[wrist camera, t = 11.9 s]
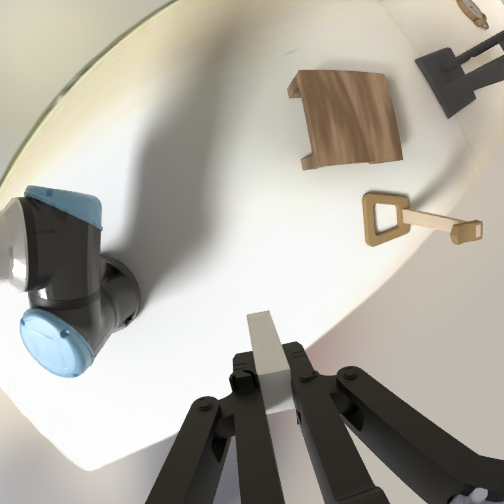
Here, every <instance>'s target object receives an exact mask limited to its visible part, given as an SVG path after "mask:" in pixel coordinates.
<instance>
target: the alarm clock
mask: <svg viewBox="0 0 504 504" xmlns="http://www.w3.org/2000/svg"><path fill="white" fill-rule="evenodd" d="M457 3H458V5H459V7H460V8H461V10H462V11H463V12H464V13H465V14H466V15H467V16H468V17H469V18H470V19H471V20H473V21H475V22H474V23H475V24H476V25H477V26H481V27H483V28H485V29H488V28H489V26H488V24H487V22H486V20H487V18H486V16H485V15H484V14H483V13H482V12H481V11H480V9H479V8H478V7H477V6H476V5H475V3H473V2H472V1H471V0H457ZM484 24H486V26H487V28H486V27H485V26H483V25H484Z"/></svg>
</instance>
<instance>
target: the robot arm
mask: <svg viewBox="0 0 504 504" xmlns="http://www.w3.org/2000/svg"><path fill="white" fill-rule="evenodd" d="M24 196H25V197H18V198H12V199H11V200H10V202H9V203H8V204H7V205H6V207H5V208H4V209H3V210H2V211H0V284H4V283H8V284H10V285H11V286H13V287H14V288H15V289H16V290H18V291H19V292H27V291H28V297H29V304H30V309H28V310H27V311H25V312H24V314H23V317H22V319H21V320H20V334H21V338H22V340H23V343H24V345H25V347H26V348H27V350H28V351H29V353H30V354H31V355H32V357H33V358H34V359H35V360H36V361H37V362H38V363H39V364H40V365H41V366H42V367H44V368H45V369H46V370H48V371H50V372H51V373H53V374H55V375H58V376H61V377H65V378H74V377H78V376H79V375H81V374H82V373H84V372H85V370H86V369H87V368H88V367H89V366H91V365H92V363H93V361H94V358H95V357H96V356H97V354H98V353H99V351H100V350H101V348H102V347H103V346H104V344H105V343H106V341H107V340H108V338H109V337H110V336H111V334H112V333H115V332H117V331H119V330H122V329H124V328H125V327H127V326H128V325H129V324H130V323H131V322H132V321H133V319H134V318H135V316H136V315H137V313H138V310H139V307H140V291H139V287H138V284H137V282H136V280H135V278H134V276H133V275H132V273H131V272H130V271H129V270H128V269H127V268H126V267H125V266H124V265H123V264H122V263H120V262H119V261H117V260H115V259H112V258H109V257H103V256H100V244H101V231H102V230H103V227H102V226H101V217H102V206H101V203H100V201H99V199H98V198H97V197H95V196H93V195H88V194H83V193H78V192H72V191H66V190H59V189H52V188H45V187H39V186H31V185H29V186H27V188H26V191H25V192H24ZM247 320H248V326H249V332H250V338H251V343H252V349H253V351H250V352H244V353H238V354H236V355H235V356H234V358H233V373H232V374H231V375H230V377H229V381H230V384H231V388H232V391H233V392H232V393H231V394H230V395H228V396H227V397H225V398H223V399H220V400H217V399H216V398H214V397H210V396H206V397H201V398H198V399H197V400H195V401H194V402H193V404H192V405H191V407H190V410H189V412H188V414H187V416H186V418H185V420H184V422H183V425H182V427H181V429H180V431H179V433H178V435H177V437H176V440H175V442H174V444H173V446H172V448H171V450H170V452H169V455H168V456H167V458H166V461H165V463H164V465H163V467H162V469H161V471H160V473H159V476H158V478H157V479H156V482H155V484H154V486H153V488H152V490H151V492H150V494H149V496H148V498H147V501H146V502H145V504H213V500H214V497H215V494H216V490H217V487H218V484H219V480H220V477H221V473H222V470H223V466H224V463H225V459H226V455H227V452H228V449H229V445H230V442H231V437H232V436H236V448H237V462H238V474H239V486H240V496H241V504H285V501H284V496H283V491H282V487H281V482H280V477H279V473H278V468H277V463H276V459H275V454H274V449H273V444H272V439H271V435H270V430H269V425H268V420H267V415H266V414H270V413H275V412H280V411H284V410H289V409H294V408H296V414H297V424H299V425H300V427H301V431H302V434H303V437H304V440H305V443H306V446H307V450H308V453H309V456H310V459H311V462H312V465H313V468H314V471H315V474H316V477H317V481H318V484H319V487H320V490H321V493H322V496H323V499H324V502H325V504H390V503H389V501H388V499H387V497H386V495H385V493H384V491H383V490H382V489H381V488H380V487H377V486H375V485H374V483H373V481H372V479H371V477H370V475H369V473H368V471H367V469H366V467H365V465H364V463H363V461H362V459H361V457H360V455H359V453H358V451H357V449H356V447H355V445H354V443H353V440H352V438H351V436H350V434H349V432H348V430H347V428H346V426H345V424H346V425H347V426H348V427H349V428H350V429H351V430H352V432H353V433H354V434H355V435H356V436H357V437H358V438H359V439H360V440H361V441H362V442H363V443H364V444H365V445H366V446H367V447H368V448H369V449H370V450H371V451H372V452H373V453H374V454H375V455H376V456H377V457H378V458H379V459H380V460H381V461H382V462H383V463H385V465H386V466H387V467H388V468H390V469H391V470H392V471H393V472H394V473H395V474H396V475H397V476H398V477H399V478H400V479H401V480H402V481H403V482H404V483H405V484H406V485H407V486H409V487H410V488H411V489H412V490H413V491H414V492H415V493H416V494H418V496H420V497H421V498H422V499H423V500H424V501H425V502H427V503H428V504H504V460H500V459H494V458H490V457H485V456H481V455H478V454H477V453H475V452H474V451H472V450H471V449H469V448H468V447H467V446H465V445H464V444H462V443H461V442H459V441H458V440H457V439H455V438H454V437H452V436H451V435H450V434H448V433H447V432H445V431H444V430H443V429H441V428H440V427H438V426H437V425H436V424H434V423H433V422H432V421H430V420H429V419H427V418H426V417H424V416H423V415H422V414H421V413H419V412H418V411H416V410H415V409H414V408H412V407H411V406H409V405H408V404H407V403H406V402H404V401H403V400H402V399H400V398H399V397H397V396H396V395H395V394H394V393H392V392H391V391H389V390H388V389H387V388H386V387H384V386H383V385H382V384H380V383H379V382H378V381H376V380H375V379H374V378H372V377H371V376H370V375H368V374H367V373H366V372H365V371H363V370H362V369H361V368H358V367H355V366H347V367H344V368H342V369H340V370H339V371H338V372H337V375H333V376H325V375H320V374H319V373H318V372H317V371H315V370H314V369H313V367H312V365H311V363H310V361H309V359H308V356H307V355H306V352H305V351H304V348H303V346H302V345H301V344H299V343H298V342H291V343H287V344H282V345H281V342H280V340H279V337H278V334H277V331H276V329H275V326H274V323H273V320H272V317H271V315H270V312H269V311H264V312H259V313H253V314H248V315H247ZM294 405H295V406H294ZM344 423H345V424H344Z"/></svg>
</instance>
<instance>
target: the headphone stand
mask: <svg viewBox="0 0 504 504" xmlns="http://www.w3.org/2000/svg"><path fill="white" fill-rule="evenodd" d="M376 203H379V204H391V205H396V208H397V227H395V228H393V229H390V230H388V231H385V232H382V233H380V234H377V235H376V234H375V225H374V212H373V206H374V205H375V204H376ZM362 204H363V215H364V227H365V241H366V243H367V245H369V246H372V247H374V246H377V245H379V244H382V243H384V242H387V241H389V240H392V239H395V238H397V237H400V236H402V235H404V234H407V233H408V232H409V231H410V224H413V225H418V226H423V227H428V228H433V229H438V230H443V231H448V232H451V233H450V236H451V239H452V242H453V243H454V244H457V245H459V244H462V243H464V242H469V241H476V240H479V239H482V231H483V230H482V229H483V228H482V227H483V223H482V221H478V220H475V221H469V222H467V221H463V220H459V219H454V218H450V217H446V216H441V215H436V214H431V213H427V212H422V211H416V210H411V209H409V201H408V199H407V198H406V197H401V196H392V195H383V194H373V193H366V194H365V195H364V196H363V198H362Z"/></svg>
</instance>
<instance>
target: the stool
mask: <svg viewBox="0 0 504 504" xmlns="http://www.w3.org/2000/svg"><path fill="white" fill-rule="evenodd" d="M287 90H288V94H289V98H300V97H301V98H302V102H303V107H304V112H305V117H306V122H307V127H308V132H309V137H310V143H311V148H312V154H313V155H311V156H308V157H306V158H304V159H301V162H302V168H303V170H310V169H316V168H320V167H324V166H331V165H342V164H353V163H366V162H369V164H375V163H384V162H391V161H399V160H403V155H402V149H401V144H400V138H399V133H398V128H397V123H396V118H395V114H394V109H393V105H392V101H391V97H390V93H389V89H388V86H387V82H386V79H385V75H384V74H378V73H368V72H356V71H338V70H299V71H298V73H297V74H296V76H295V78H294V79H293V81H292V82H291V84H290V85H289V87H288V89H287Z"/></svg>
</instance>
